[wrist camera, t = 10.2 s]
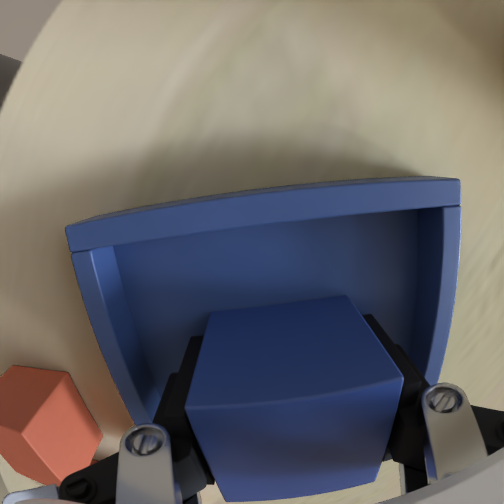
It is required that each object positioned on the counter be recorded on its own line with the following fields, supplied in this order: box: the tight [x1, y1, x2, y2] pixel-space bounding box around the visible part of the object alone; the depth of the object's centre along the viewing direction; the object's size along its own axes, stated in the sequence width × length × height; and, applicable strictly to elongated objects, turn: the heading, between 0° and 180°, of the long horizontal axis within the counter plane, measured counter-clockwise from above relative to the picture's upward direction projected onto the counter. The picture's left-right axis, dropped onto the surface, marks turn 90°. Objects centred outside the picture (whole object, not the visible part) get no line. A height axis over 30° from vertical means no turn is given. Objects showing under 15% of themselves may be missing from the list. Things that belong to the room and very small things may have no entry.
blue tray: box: [65, 176, 461, 425], centre depth 10 cm, size 12×12×2 cm
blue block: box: [185, 295, 404, 502], centre depth 8 cm, size 4×4×4 cm
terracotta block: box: [0, 365, 103, 486], centre depth 9 cm, size 4×4×4 cm
